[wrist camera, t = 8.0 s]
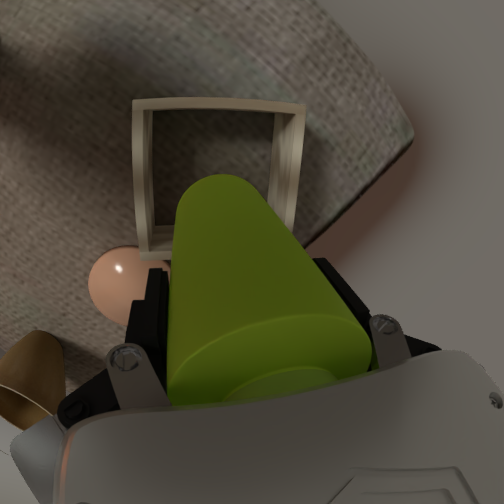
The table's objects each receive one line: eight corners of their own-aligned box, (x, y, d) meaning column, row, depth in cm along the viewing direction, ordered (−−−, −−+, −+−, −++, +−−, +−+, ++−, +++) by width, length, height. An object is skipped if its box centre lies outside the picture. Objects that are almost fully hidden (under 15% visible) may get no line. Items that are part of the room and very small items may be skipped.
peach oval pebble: (82, 247, 32) (79, 251, 31) (175, 243, 35) (175, 247, 34) (101, 322, 38) (100, 327, 37) (182, 321, 41) (182, 326, 40)
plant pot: (97, 359, 42) (84, 437, 28) (50, 376, 42) (34, 441, 28) (41, 299, 34) (3, 376, 20) (0, 326, 34) (-31, 390, 20)
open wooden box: (144, 102, 26) (132, 99, 20) (283, 106, 30) (306, 105, 24) (148, 233, 34) (140, 260, 28) (272, 229, 37) (289, 254, 31)
